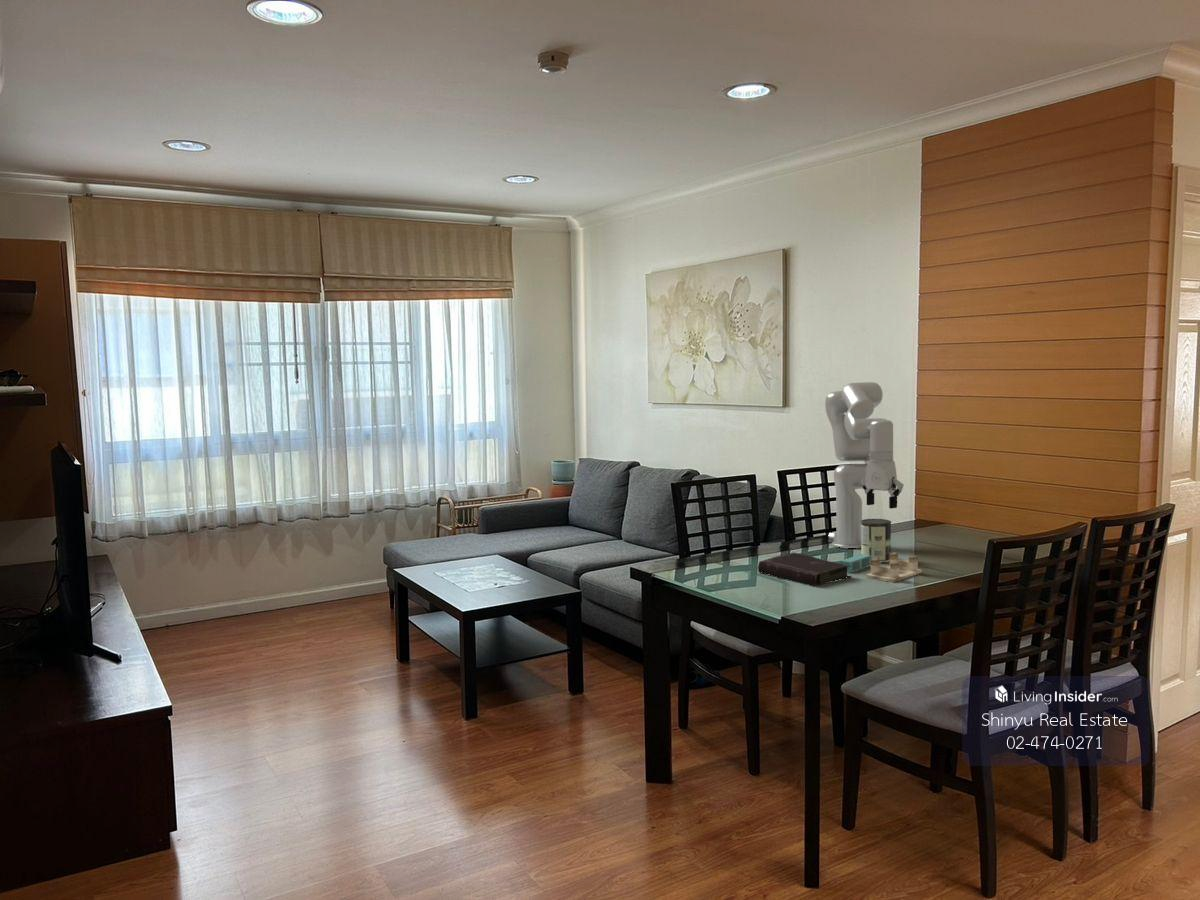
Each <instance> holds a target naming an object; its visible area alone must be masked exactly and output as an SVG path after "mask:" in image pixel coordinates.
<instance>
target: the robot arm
mask: <svg viewBox="0 0 1200 900" xmlns="http://www.w3.org/2000/svg"><path fill="white" fill-rule="evenodd" d="M882 401H883V390H882V387H881V386H880V385H879V384H878V383H877V382H871V381H868V382H867V381H866V382H864V381H863V382H852V383H851V382H850V383H848V384H846V385H844V386H843V388H842V389H841V390H838V391H832V392H830V393H828V394H827V396H826V398H825V403H824V405H825V412H826V417H827V418H828V421H829V423H830V426H831V429H832V436H833V437H832V439H833V446H834V453H835V457H836V459H837V460H838V461H840V462H863V463H849V464H848V463H845V464H840V465H838V466H837V467H836V468H834V471H833V481H834V487H835V498H836V500H835V502H836V504H835V505H836V510H835V511H836V513H835V514H836V516H835V517H836V520H835V521H836V532H829V533H828V536H827V537H828V538H829V539H833V541H832V543H831V544H832V546H833V547H834V548H839V547H840V548H839V549H848V548H856V549H861V520H863V500H862V497H861V496H860V495H859V493H858V492H857V491H856V490H859V489H861V490H862V489H863V490H864V493H865V494H866V506H874V505H875V492H874V491H881V492H885V491H887V492H888V494H889V495H890V496H889V497H888V498H889V499H888V500H889V501H888V508H889V509H897V508H898V497H899V496H900V494H901V493H902V491H903V489H904V484H903V482H901V481H900V480H899V479H897V478H898V477H897V476H898V475H897V468H896V467H897V466H896V463H895V460H894V423H893V421H892V420H889V419H887V418H869V417H871V415H873V413H874V410H875V409H876V407H878V406H879V405H880V404H881V403H882Z"/></svg>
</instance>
